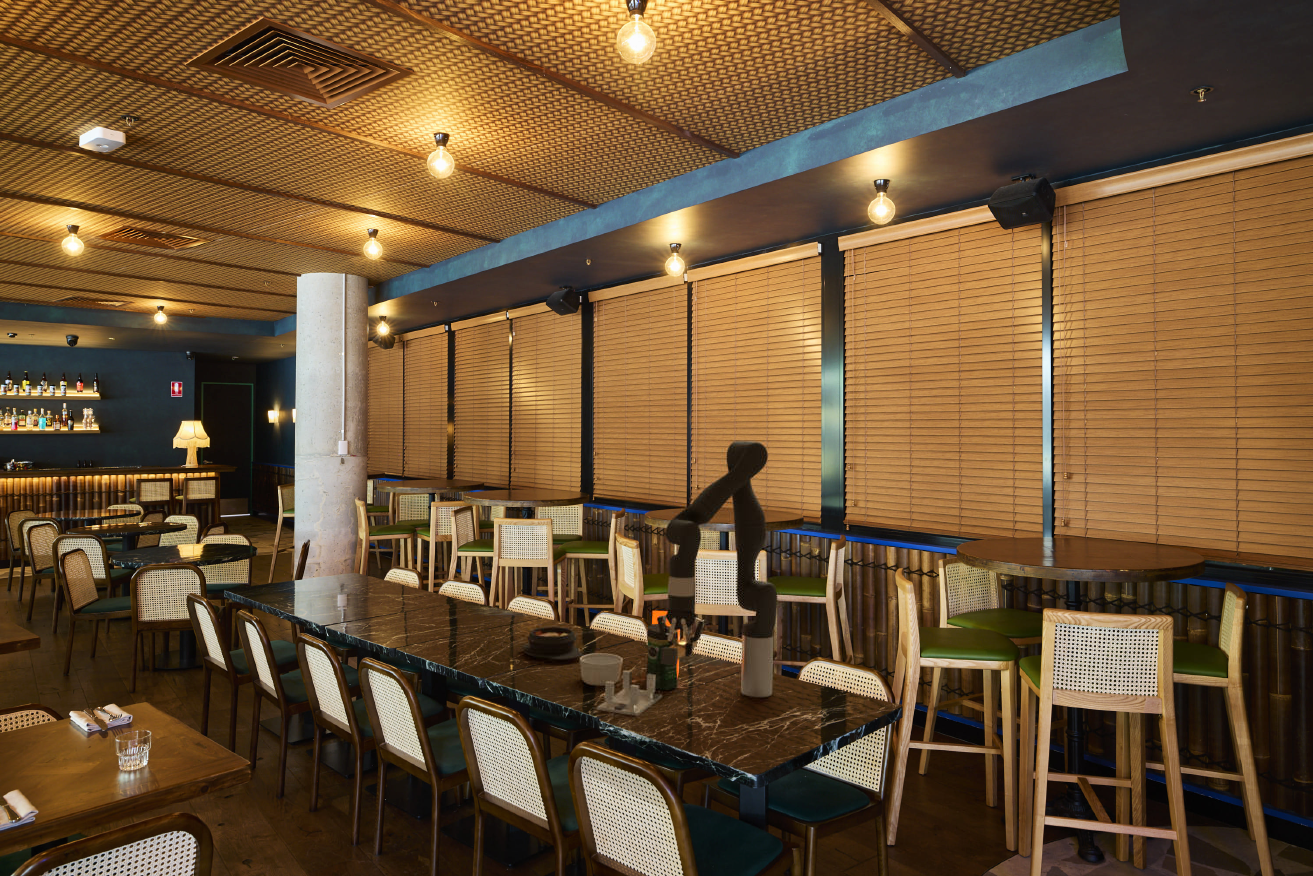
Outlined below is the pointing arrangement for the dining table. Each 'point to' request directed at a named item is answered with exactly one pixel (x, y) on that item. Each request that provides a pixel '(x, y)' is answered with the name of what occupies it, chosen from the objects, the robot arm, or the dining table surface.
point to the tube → (674, 652)
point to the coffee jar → (663, 672)
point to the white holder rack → (629, 696)
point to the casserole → (552, 644)
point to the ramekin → (600, 668)
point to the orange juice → (654, 621)
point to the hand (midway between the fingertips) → (680, 654)
